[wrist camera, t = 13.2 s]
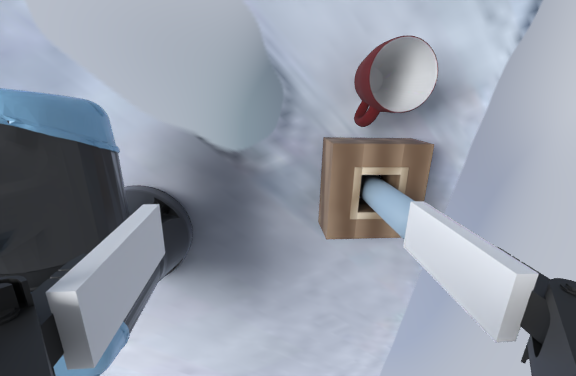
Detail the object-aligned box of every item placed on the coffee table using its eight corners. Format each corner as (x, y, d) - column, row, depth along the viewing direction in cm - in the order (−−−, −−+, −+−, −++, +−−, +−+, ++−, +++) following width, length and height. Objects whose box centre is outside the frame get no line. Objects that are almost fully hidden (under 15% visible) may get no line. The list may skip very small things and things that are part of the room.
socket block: (318, 222, 47) (326, 239, 41) (323, 137, 42) (333, 143, 37) (398, 220, 48) (418, 237, 42) (411, 138, 44) (435, 144, 38)
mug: (376, 133, 43) (409, 142, 34) (328, 116, 42) (348, 121, 32) (406, 62, 40) (451, 51, 31) (355, 41, 39) (386, 22, 29)
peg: (350, 193, 46) (394, 241, 30) (352, 170, 44) (400, 207, 29) (373, 193, 46) (429, 240, 31) (376, 170, 45) (436, 206, 30)
